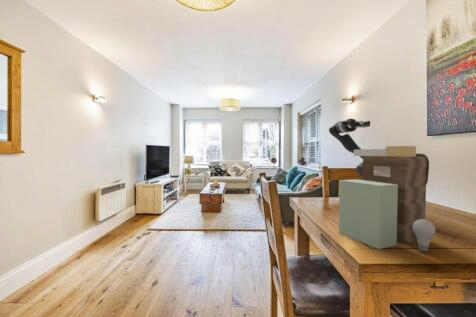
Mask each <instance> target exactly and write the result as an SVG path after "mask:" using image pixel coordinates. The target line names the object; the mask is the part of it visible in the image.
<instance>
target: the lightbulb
mask: <svg viewBox="0 0 476 317" xmlns="http://www.w3.org/2000/svg"><path fill="white" fill-rule="evenodd" d="M412 228H413V231H414V233H415V234H416V237H417V241H416V242H417V244H418V246H417V247H418V250H419V251H421V252H422V253H426V252H428V251H429V246H430V242H431V240H432V238H433V237H434V236H435V234H436V226H435V225H434V224H433V222H431V221H430V220H428V219H426V220H425V219H419V220H416V221H415V222H414V223H413V226H412Z"/></svg>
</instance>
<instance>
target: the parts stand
mask: <svg viewBox="0 0 476 317" xmlns="http://www.w3.org/2000/svg"><path fill="white" fill-rule="evenodd" d="M427 157H428V156H427ZM427 157H397V156H363V159H362V160H363V161H362V162H363V177H362V180H365V181H373V182H381V183H389V184H397V185H398V201H397V242H398V243H400V244H403V245H405V244H410V243H414V242H415V243H416V242H418V241H417V237H416V234H415V233H414V231H413V228H412V226H413V223H414V222H415V221H416V220H419V219H425V208H426V209H427V204H426V201H427V200H426V199H427V184H426V167H427Z"/></svg>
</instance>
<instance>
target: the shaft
mask: <svg viewBox="0 0 476 317" xmlns="http://www.w3.org/2000/svg"><path fill="white" fill-rule="evenodd" d="M416 154H417V145H396V146H395V145H393V146H385V148H377V149H376V148H371V149H370V148H369V149H368V148H367V149H366V148H364V149H363V148H361V149H355V150H354V153H353V156H354V157H360V156H397V157H416Z"/></svg>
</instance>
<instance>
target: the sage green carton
mask: <svg viewBox="0 0 476 317" xmlns="http://www.w3.org/2000/svg"><path fill="white" fill-rule="evenodd" d="M397 201H398V185H397V184H389V183H381V182H373V181H365V180H363V179H357V178H355V179H353V178H352V179H340V180H339V201H338V202H339V204H338V205H339V209H338V210H339V212H338V214H339V215H338V217H339V218H338V233H339V234H341V235H344V236H346V237H348V238H351V239H353V240H356V241H358V242H360V243H363V244H366V245H368V246H370V247H373V248H375V249H378V250H381V249H386V248H391V247H395V246H397V245H398V244H397Z"/></svg>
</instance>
